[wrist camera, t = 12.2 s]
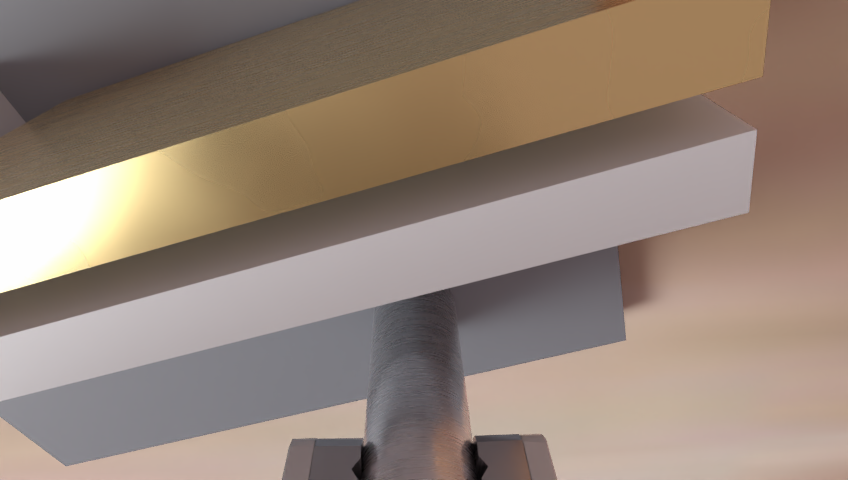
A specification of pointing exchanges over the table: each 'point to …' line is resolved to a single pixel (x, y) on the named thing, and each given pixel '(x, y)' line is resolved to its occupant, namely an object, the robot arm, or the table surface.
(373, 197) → the hinge base
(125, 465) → the table surface
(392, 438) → the pin
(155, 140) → the bar
